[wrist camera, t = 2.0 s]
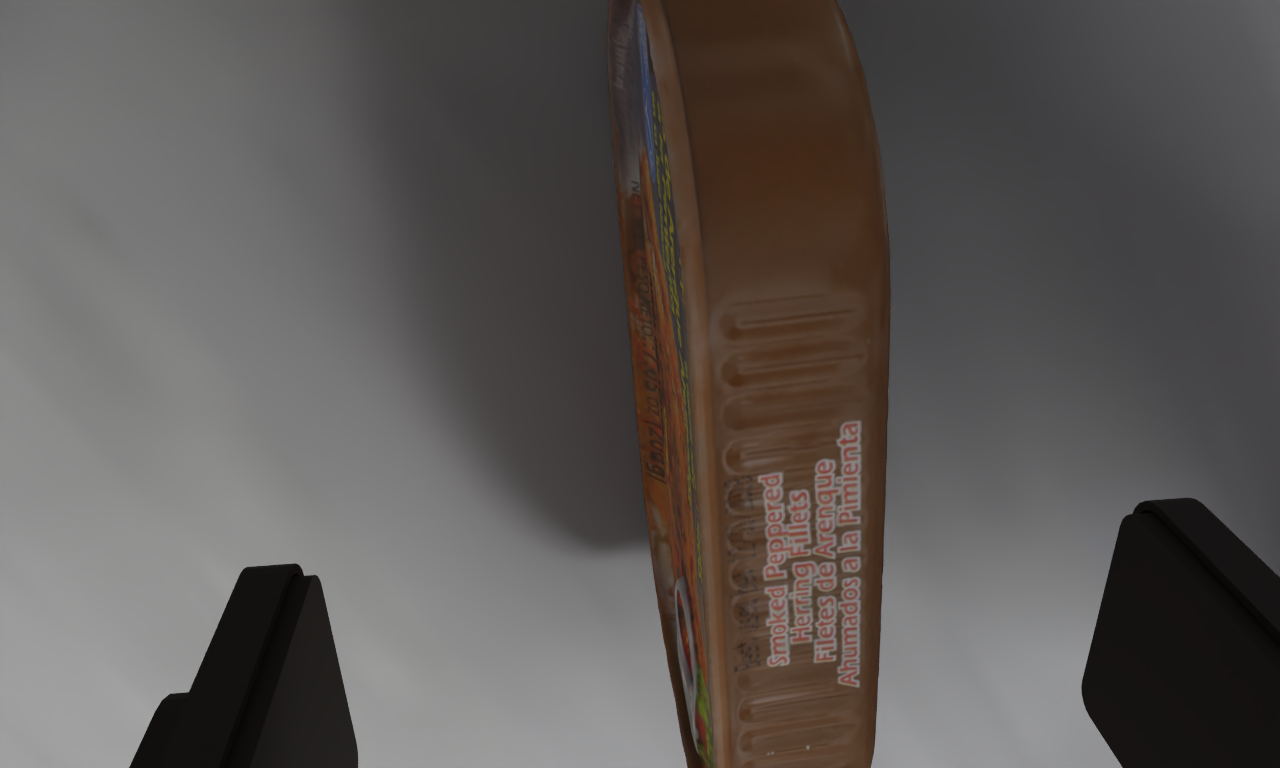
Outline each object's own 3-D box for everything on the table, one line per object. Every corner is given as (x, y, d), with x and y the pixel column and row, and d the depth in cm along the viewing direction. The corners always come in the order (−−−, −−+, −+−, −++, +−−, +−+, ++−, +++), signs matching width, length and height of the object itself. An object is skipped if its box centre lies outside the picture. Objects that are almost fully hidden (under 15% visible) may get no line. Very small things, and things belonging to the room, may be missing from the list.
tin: (593, -65, 17) (604, -28, 9) (775, -81, 17) (930, -57, 9) (654, 619, 24) (687, 958, 16) (784, 607, 24) (877, 939, 16)
